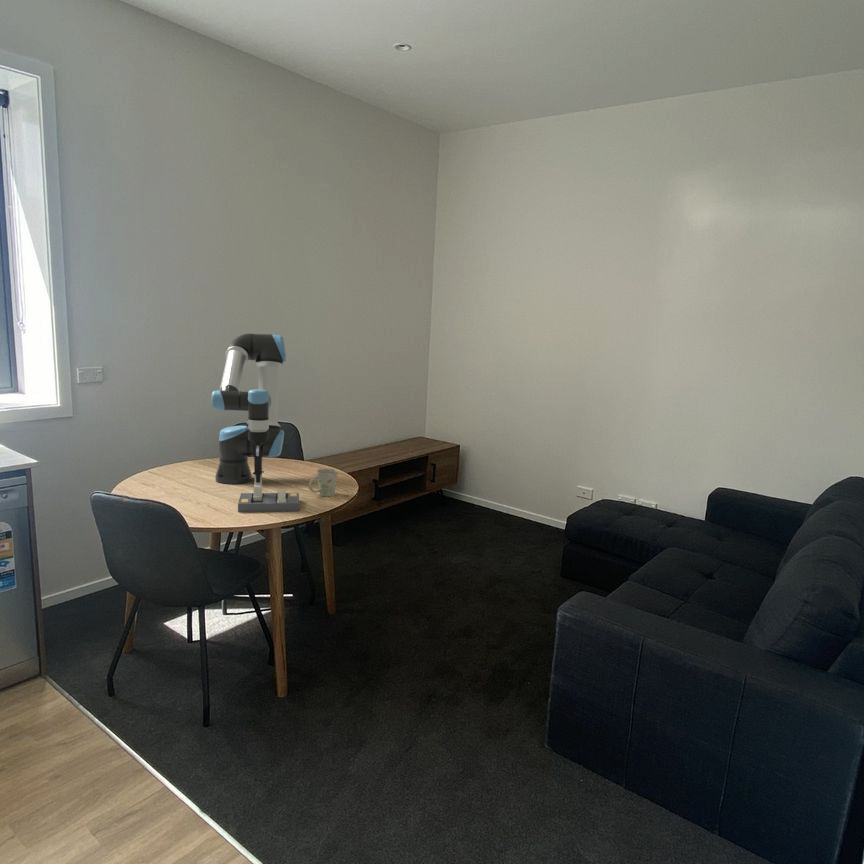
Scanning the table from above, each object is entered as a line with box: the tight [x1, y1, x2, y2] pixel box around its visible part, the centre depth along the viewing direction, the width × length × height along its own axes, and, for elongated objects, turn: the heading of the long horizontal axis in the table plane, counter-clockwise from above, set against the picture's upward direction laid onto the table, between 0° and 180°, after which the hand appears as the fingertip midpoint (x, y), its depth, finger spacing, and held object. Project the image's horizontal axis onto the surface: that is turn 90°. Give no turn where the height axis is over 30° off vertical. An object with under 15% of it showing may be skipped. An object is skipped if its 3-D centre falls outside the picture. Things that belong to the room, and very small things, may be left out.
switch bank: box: [237, 492, 300, 513], centre depth 234 cm, size 14×22×3 cm, turn 102°
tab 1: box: [253, 484, 263, 501], centre depth 236 cm, size 4×3×6 cm
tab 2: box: [277, 489, 287, 503], centre depth 231 cm, size 4×3×6 cm
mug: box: [308, 468, 338, 498], centre depth 250 cm, size 8×13×10 cm, turn 133°
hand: (258, 489), depth 238 cm, fingers closed
